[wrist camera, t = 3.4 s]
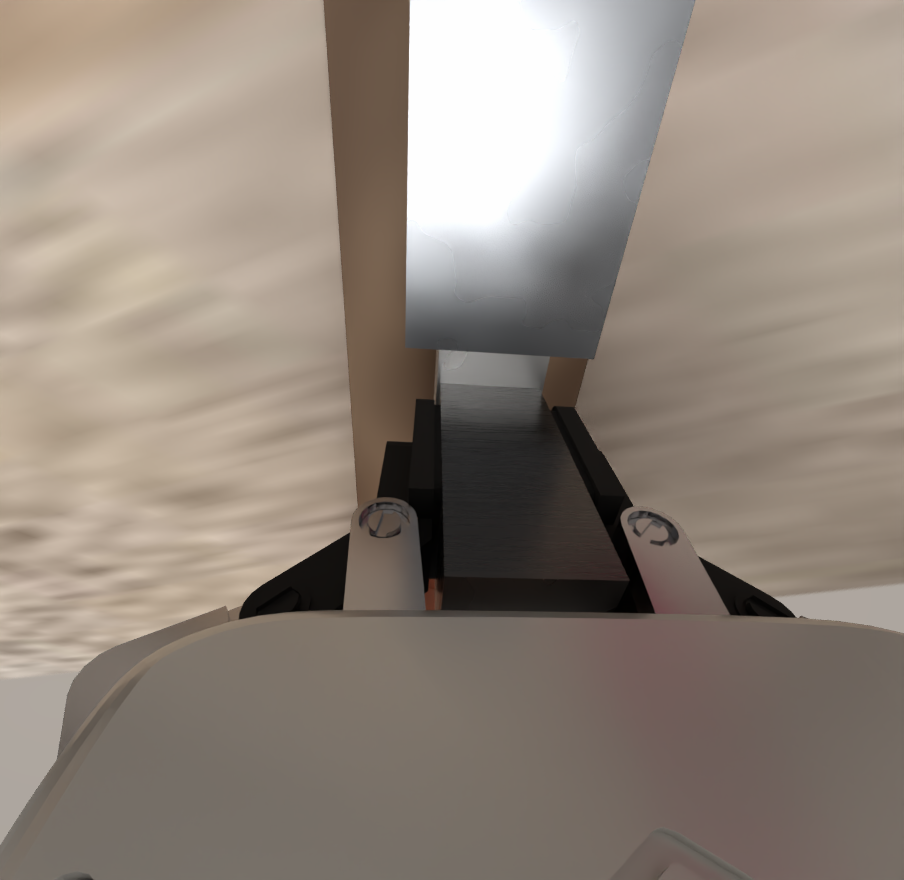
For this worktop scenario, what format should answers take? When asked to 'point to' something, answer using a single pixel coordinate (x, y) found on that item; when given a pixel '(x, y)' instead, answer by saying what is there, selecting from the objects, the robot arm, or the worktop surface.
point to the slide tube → (514, 497)
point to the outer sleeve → (528, 164)
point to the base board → (384, 232)
